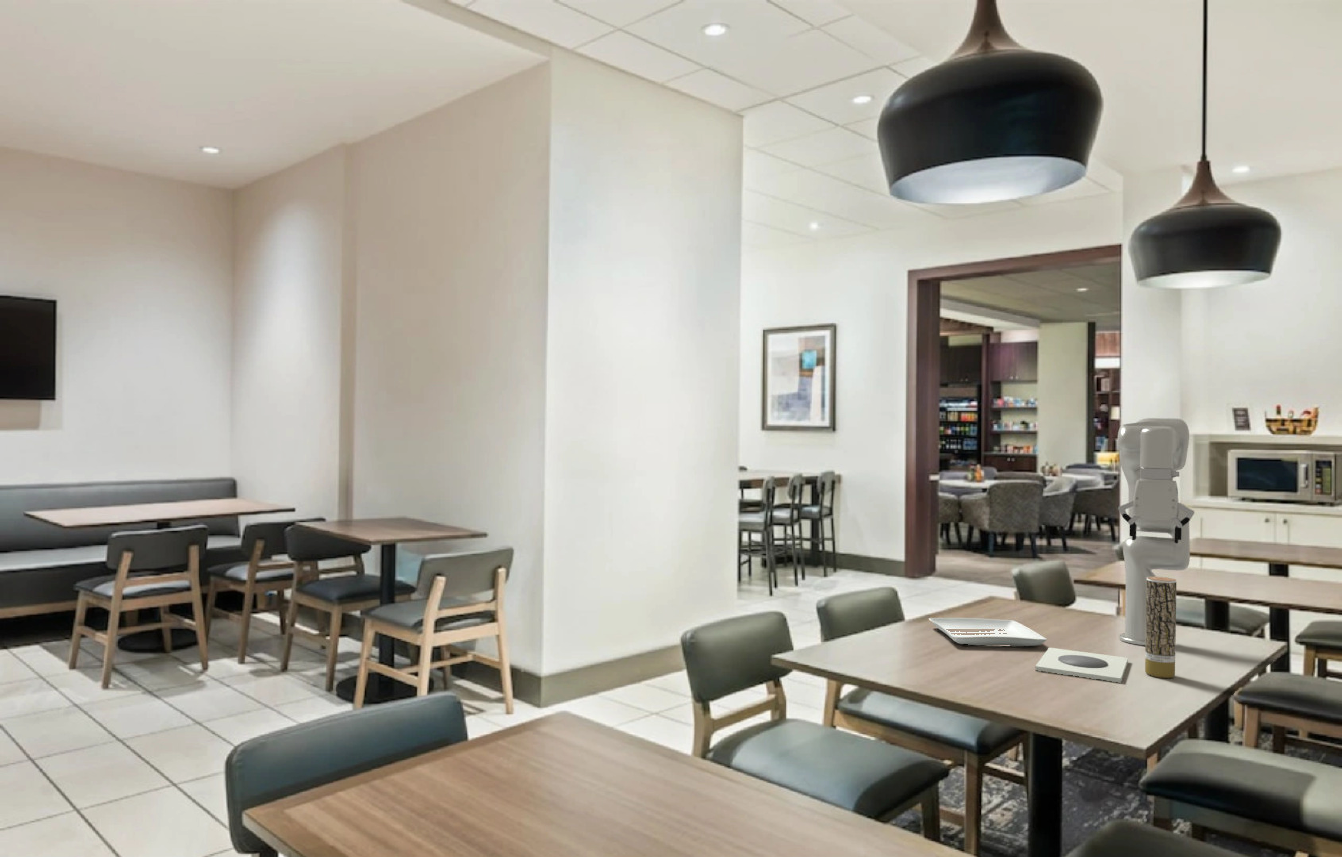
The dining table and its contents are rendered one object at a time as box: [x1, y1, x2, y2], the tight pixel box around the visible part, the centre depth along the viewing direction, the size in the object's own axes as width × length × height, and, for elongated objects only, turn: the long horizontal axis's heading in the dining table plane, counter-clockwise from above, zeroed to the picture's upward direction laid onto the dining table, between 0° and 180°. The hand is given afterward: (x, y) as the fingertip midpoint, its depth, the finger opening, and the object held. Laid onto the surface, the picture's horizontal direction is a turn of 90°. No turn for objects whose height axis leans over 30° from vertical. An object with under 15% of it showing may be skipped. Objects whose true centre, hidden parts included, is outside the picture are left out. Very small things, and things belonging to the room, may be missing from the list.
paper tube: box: [1144, 576, 1177, 679], centre depth 228 cm, size 7×7×25 cm
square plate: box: [928, 617, 1048, 647], centre depth 267 cm, size 27×27×4 cm
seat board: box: [1034, 647, 1129, 684], centre depth 236 cm, size 24×20×2 cm
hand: (1155, 541), depth 228 cm, fingers open, 9 cm apart
